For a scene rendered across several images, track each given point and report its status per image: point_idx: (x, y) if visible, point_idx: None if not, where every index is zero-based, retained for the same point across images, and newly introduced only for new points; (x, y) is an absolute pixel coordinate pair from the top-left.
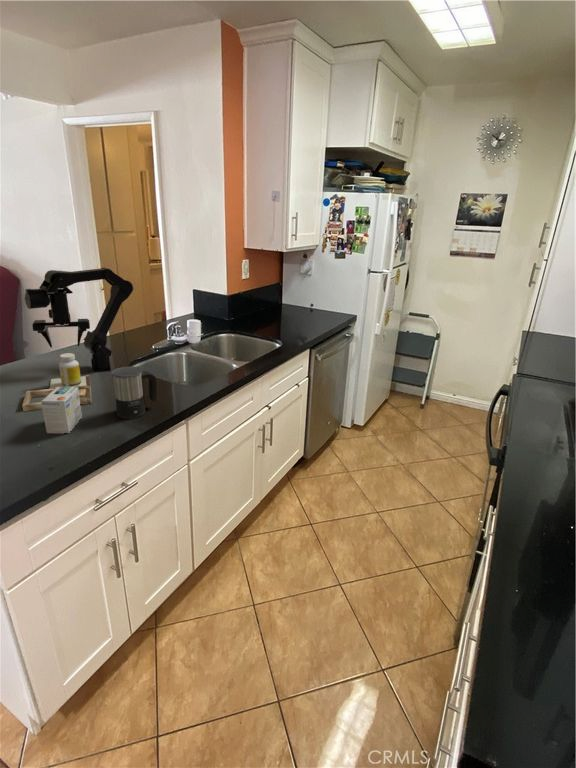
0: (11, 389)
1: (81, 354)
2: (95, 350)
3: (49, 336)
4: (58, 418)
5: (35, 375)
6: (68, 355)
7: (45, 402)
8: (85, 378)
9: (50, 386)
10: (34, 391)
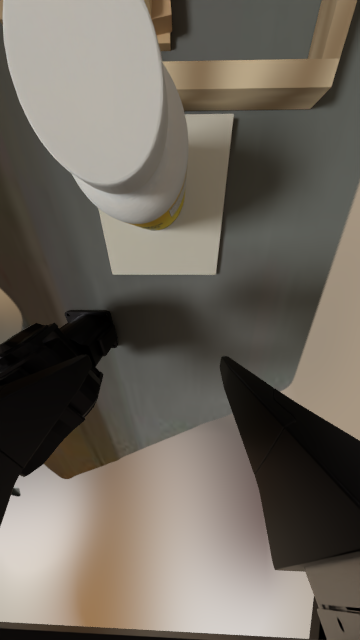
0: (331, 224)
1: (155, 409)
2: (33, 337)
3: (246, 438)
4: None
5: (248, 322)
6: (68, 56)
7: None
8: (118, 251)
9: (222, 197)
10: (302, 64)
